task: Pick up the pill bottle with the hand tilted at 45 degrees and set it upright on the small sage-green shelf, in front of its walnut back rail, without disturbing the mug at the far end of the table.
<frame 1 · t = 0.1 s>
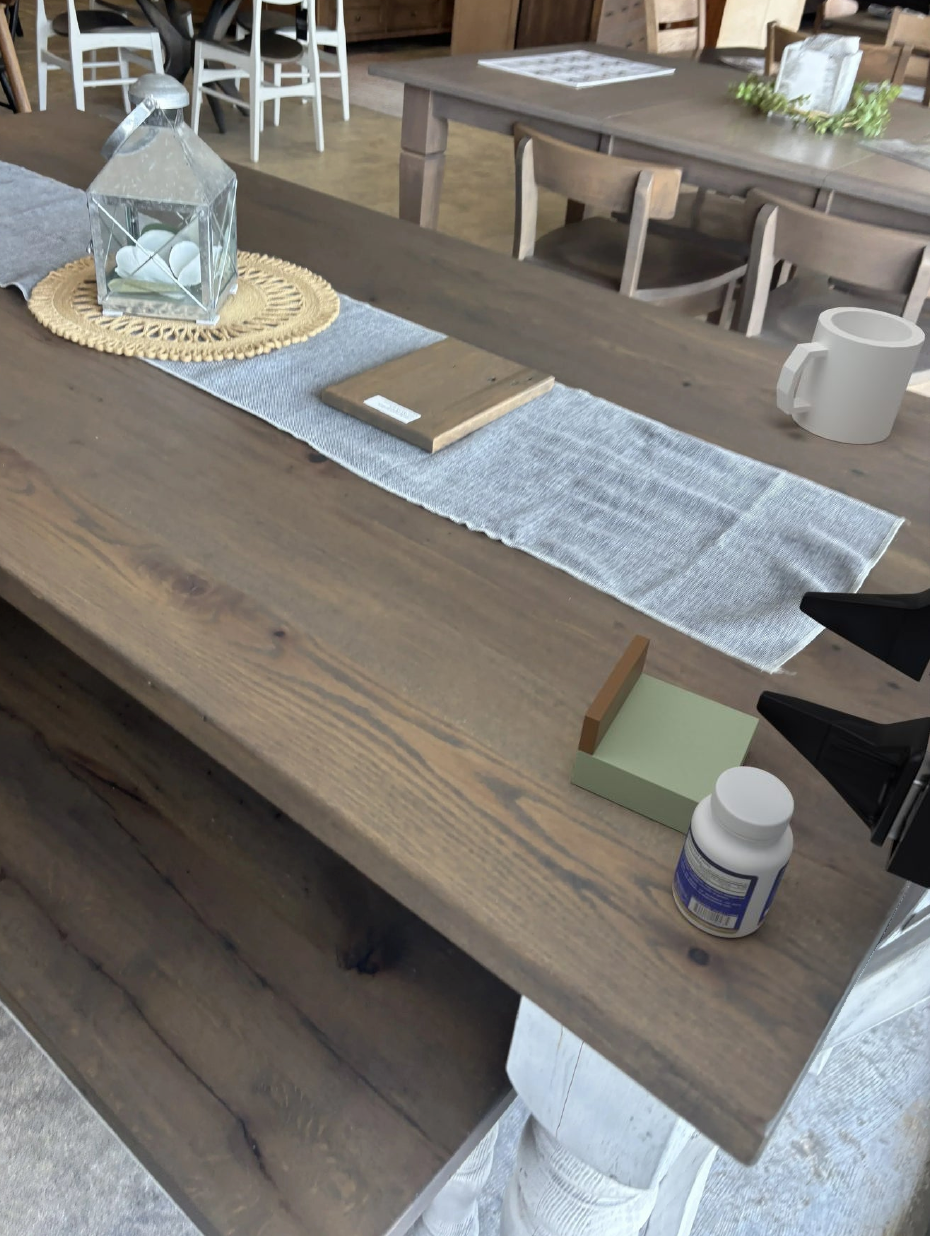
hand: (781, 646, 51), 15 cm above the table, tool horizontal, fingers open, 9 cm apart
pill bottle: (716, 901, 57), on the table
low shelf: (661, 766, 65), on the table
mug: (829, 422, 106), on the table
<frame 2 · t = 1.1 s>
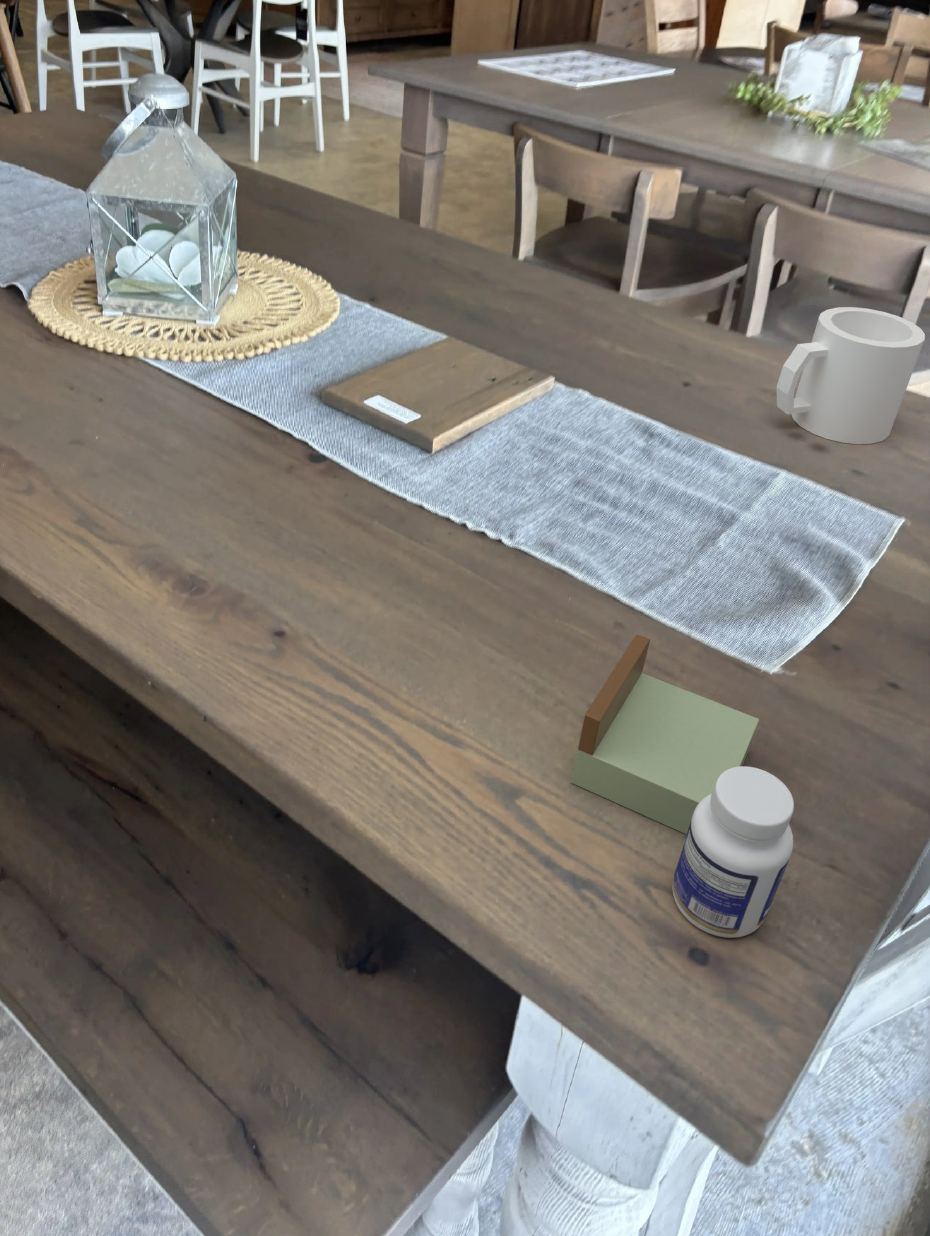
nothing on the table moved.
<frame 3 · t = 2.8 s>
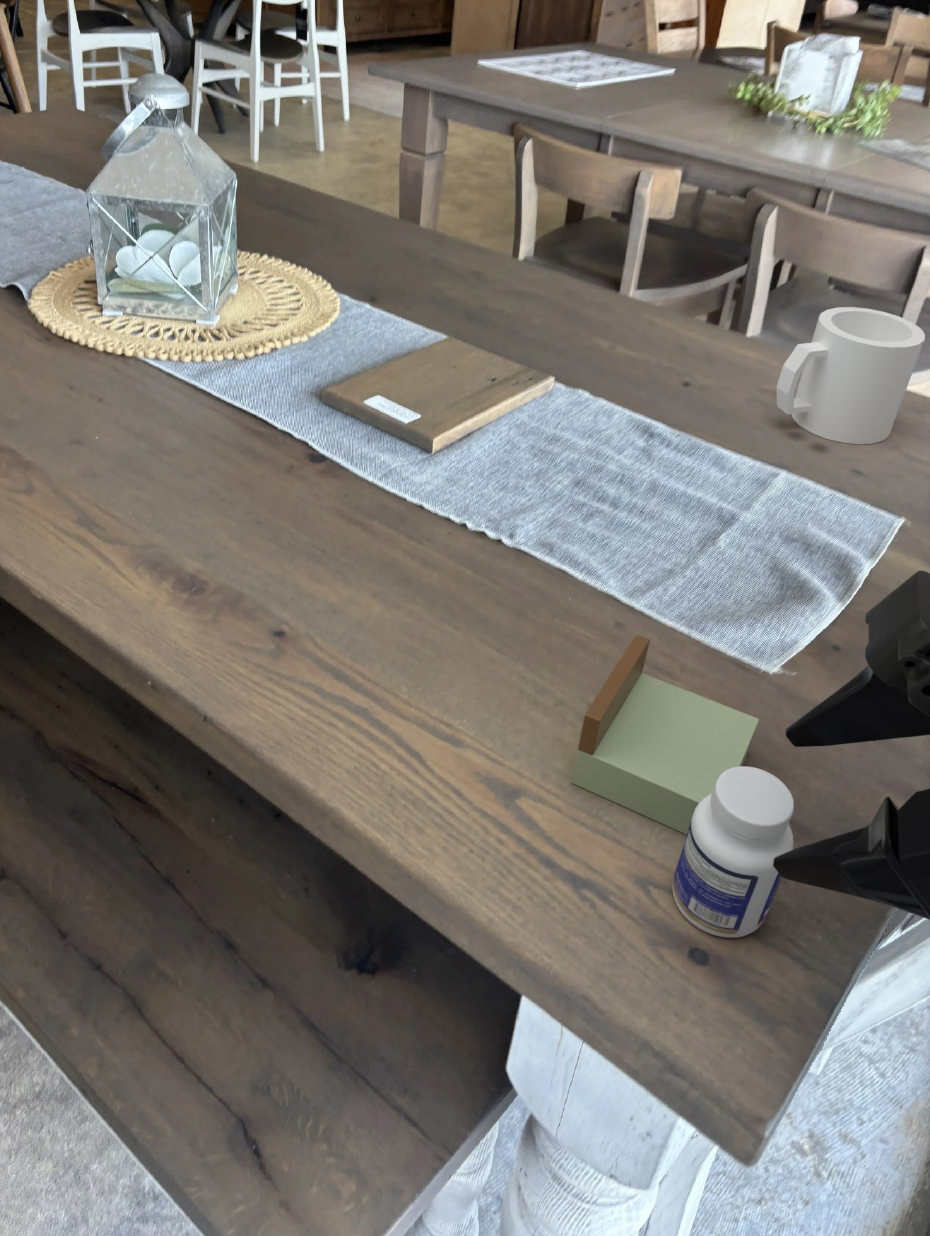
hand: (783, 798, 51), 9 cm above the table, tool tilted 45°, fingers open, 9 cm apart
nothing on the table moved.
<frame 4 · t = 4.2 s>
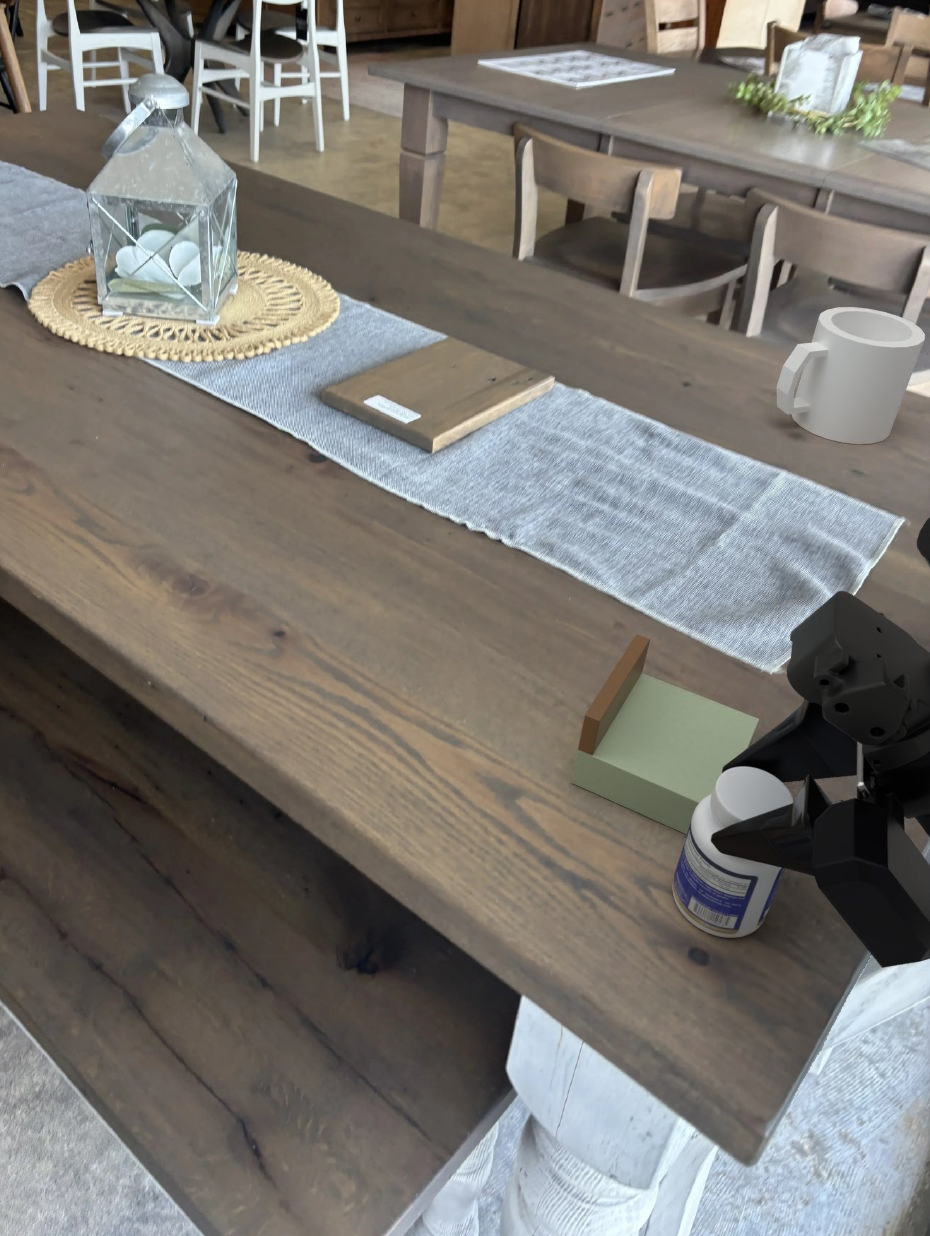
hand: (720, 808, 53), 7 cm above the table, tool tilted 45°, fingers closed on pill bottle, 4 cm apart
pill bottle: (716, 901, 57), on the table, touching gripper
everything else where it was.
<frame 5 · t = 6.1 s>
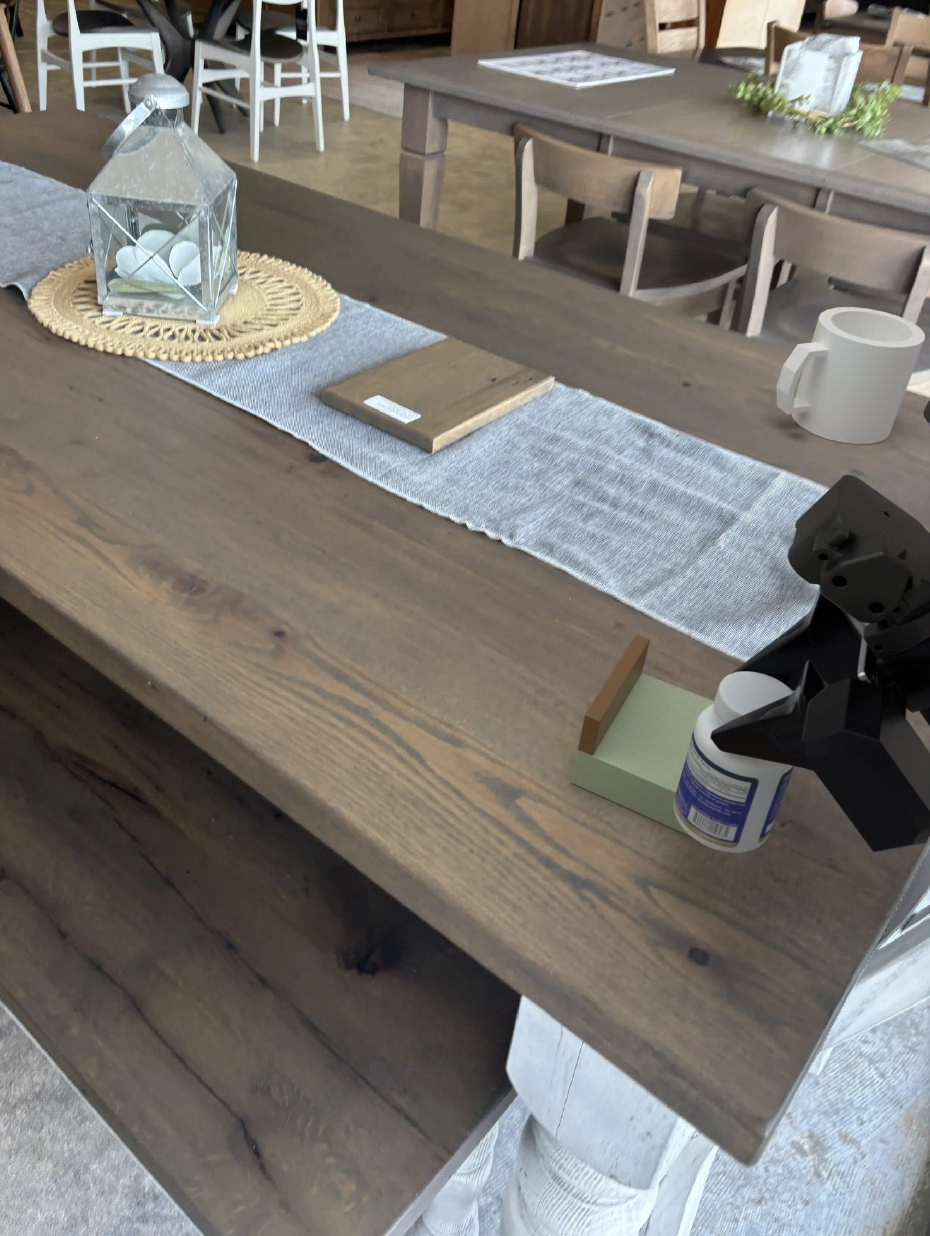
hand: (723, 712, 52), 12 cm above the table, tool tilted 45°, fingers closed on pill bottle, 4 cm apart
pill bottle: (718, 821, 55), point 5 cm above the table, touching gripper
everything else where it was.
when the fingers open (10 cm above the table, at t = 8.1 s): pill bottle stays where it is, resting on low shelf.
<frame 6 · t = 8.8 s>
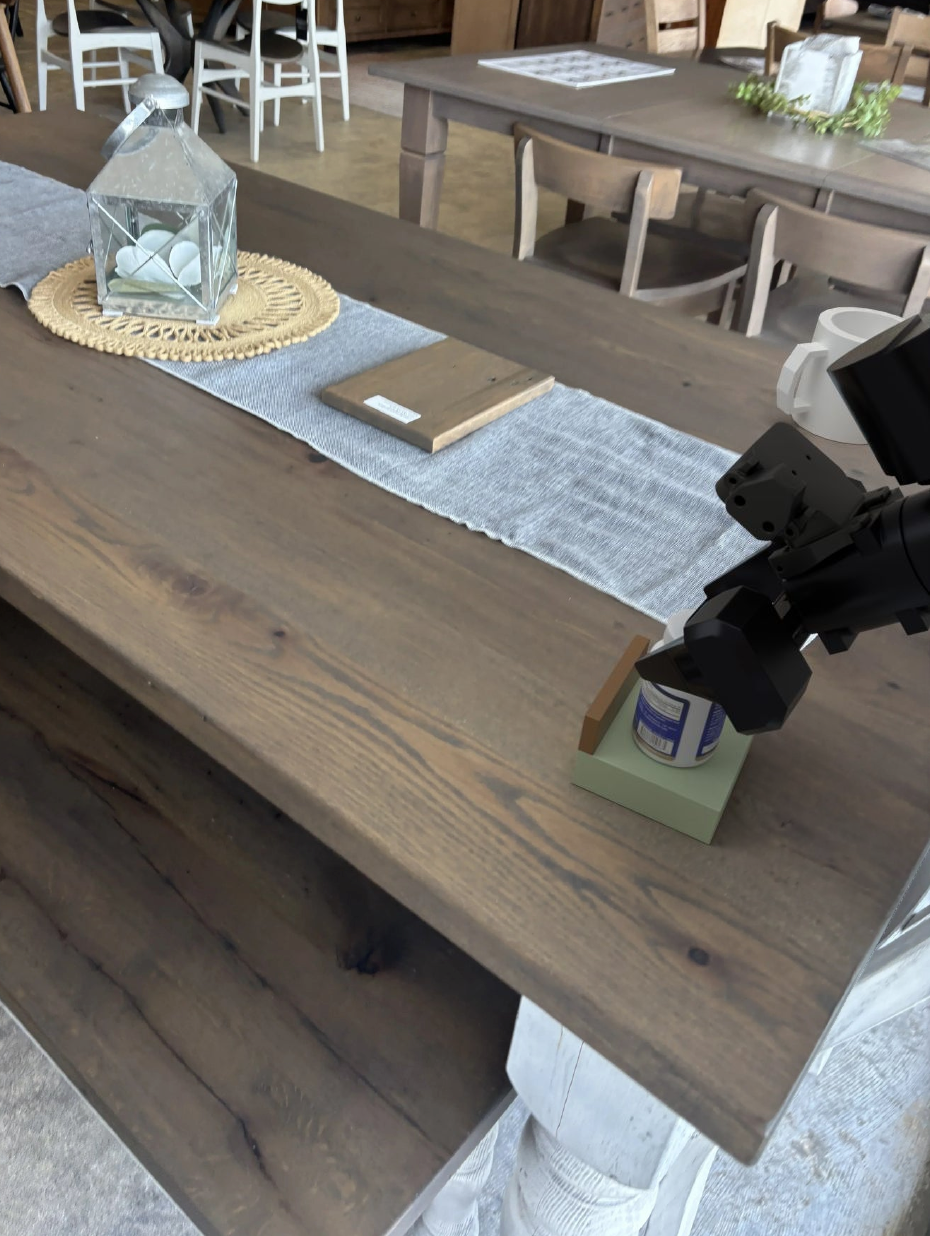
hand: (674, 630, 59), 11 cm above the table, tool tilted 45°, fingers open, 9 cm apart
pill bottle: (671, 740, 63), point 3 cm above the table, touching low shelf
everything else where it was.
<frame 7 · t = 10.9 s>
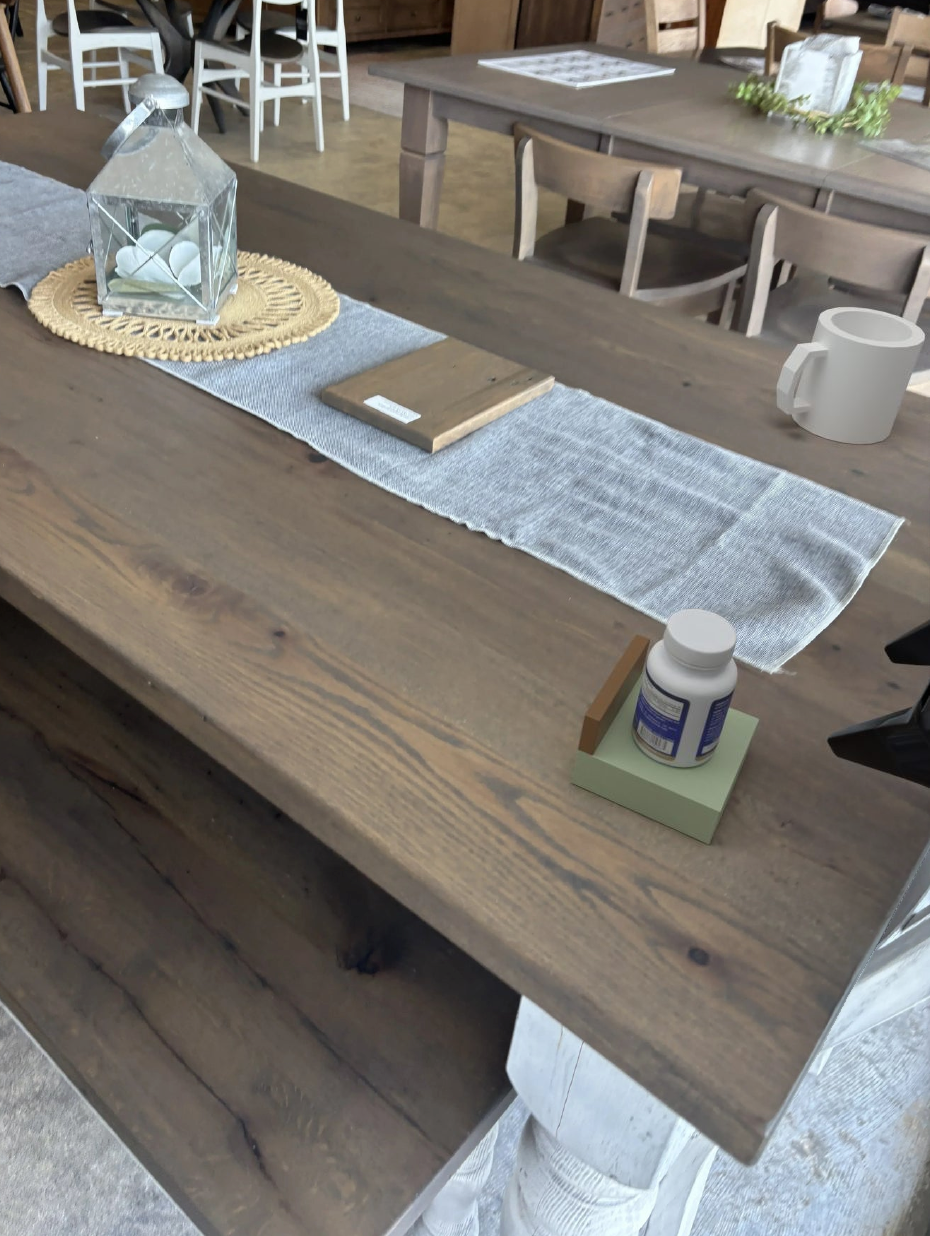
hand: (861, 697, 53), 12 cm above the table, tool tilted 45°, fingers open, 9 cm apart
nothing on the table moved.
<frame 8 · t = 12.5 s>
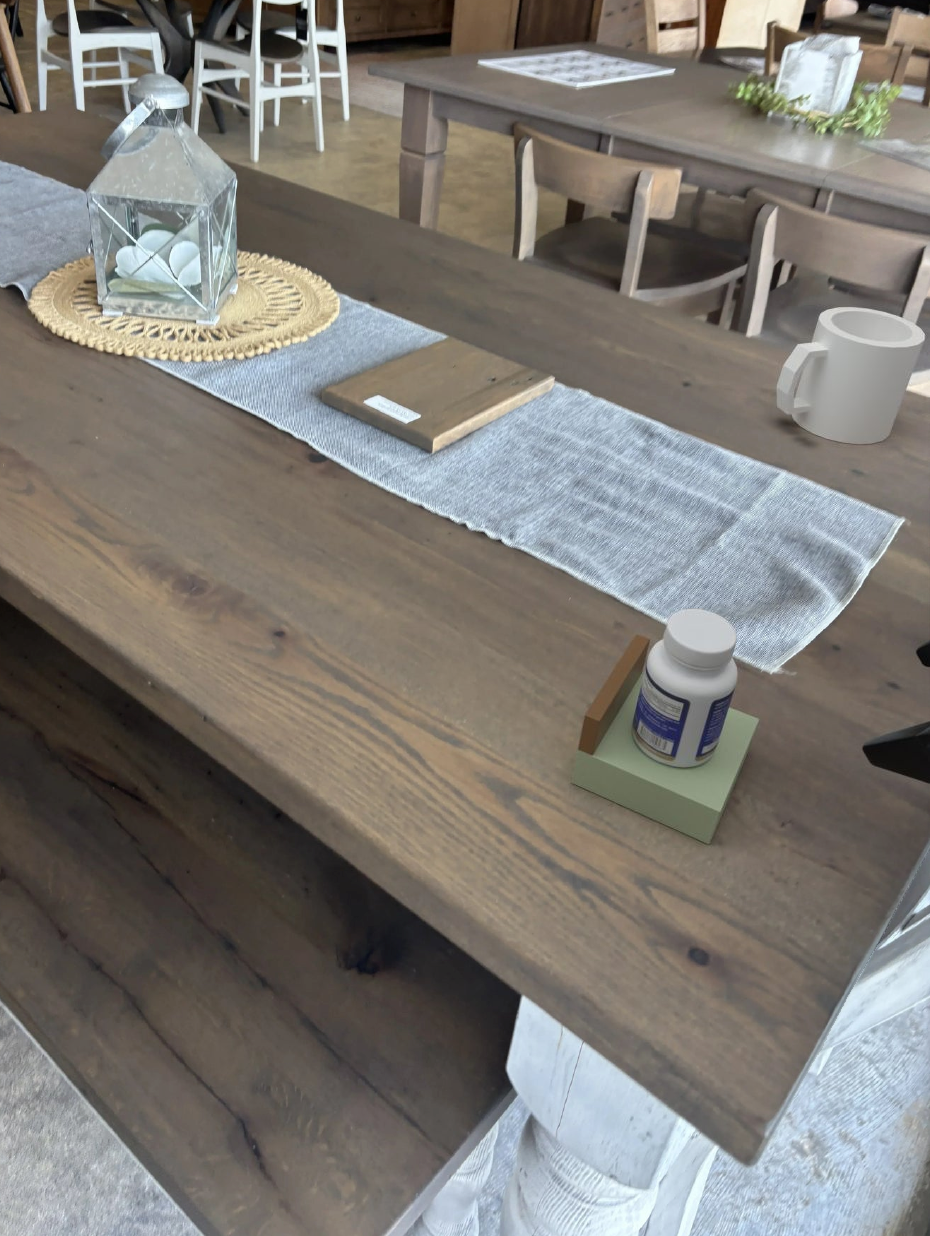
hand: (894, 702, 51), 14 cm above the table, tool tilted 45°, fingers open, 9 cm apart
nothing on the table moved.
at the end: pill bottle 0.9 cm from the target spot on the low shelf, point 2.8 cm above the low shelf's base; pill bottle tilted 0°; mug moved 0.2 cm from its start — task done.
